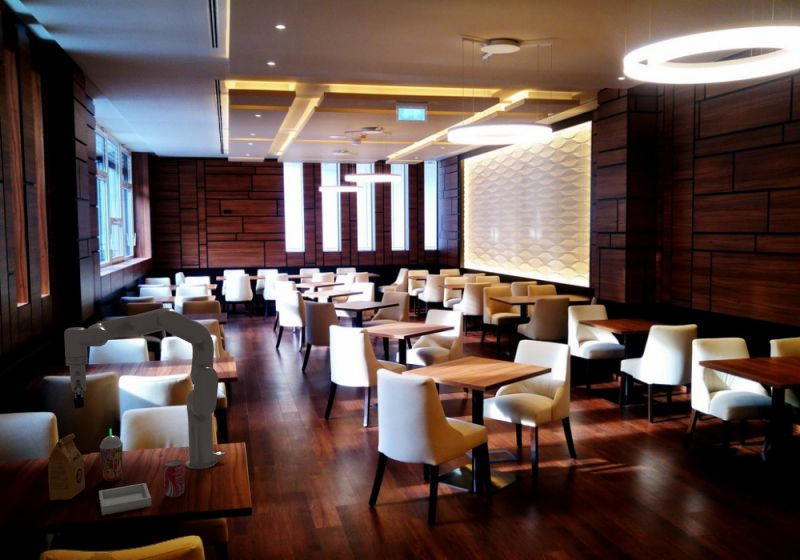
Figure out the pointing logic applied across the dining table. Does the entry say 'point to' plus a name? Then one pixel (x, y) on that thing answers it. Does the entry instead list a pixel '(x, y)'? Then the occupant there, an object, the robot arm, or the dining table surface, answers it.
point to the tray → (124, 498)
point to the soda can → (174, 478)
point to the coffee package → (65, 470)
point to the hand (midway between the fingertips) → (78, 404)
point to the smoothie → (111, 457)
